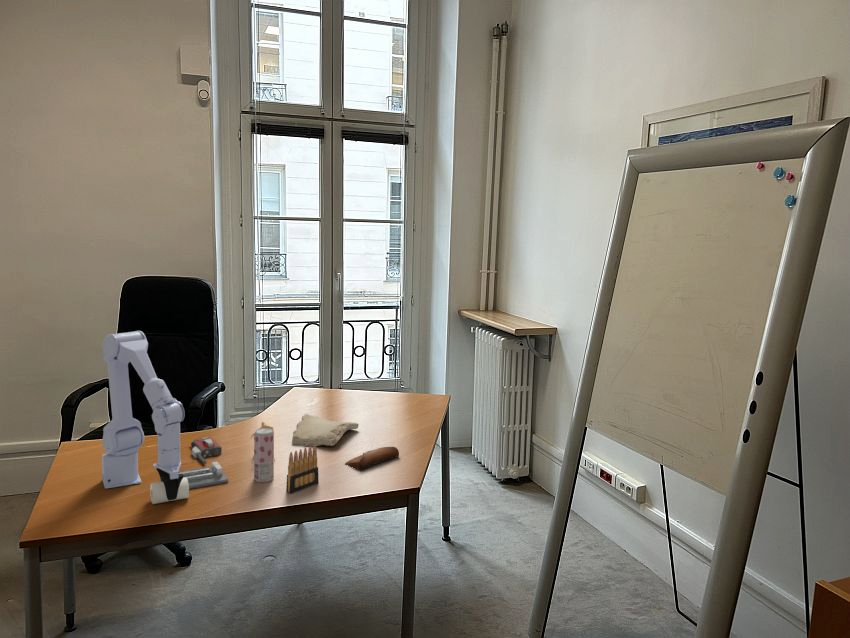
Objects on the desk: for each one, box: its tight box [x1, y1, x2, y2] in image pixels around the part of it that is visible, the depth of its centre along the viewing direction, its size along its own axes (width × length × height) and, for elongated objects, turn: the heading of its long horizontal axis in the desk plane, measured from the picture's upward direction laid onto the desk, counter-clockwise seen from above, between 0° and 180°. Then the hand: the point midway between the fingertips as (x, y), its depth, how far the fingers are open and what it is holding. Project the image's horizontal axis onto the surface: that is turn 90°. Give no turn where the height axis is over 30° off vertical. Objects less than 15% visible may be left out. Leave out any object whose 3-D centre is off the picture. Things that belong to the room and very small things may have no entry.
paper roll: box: [149, 478, 190, 505], centre depth 172 cm, size 9×6×6 cm, turn 122°
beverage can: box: [253, 427, 275, 483], centre depth 188 cm, size 6×6×15 cm
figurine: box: [250, 421, 275, 439], centre depth 206 cm, size 8×6×12 cm
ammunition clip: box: [285, 445, 320, 494], centre depth 183 cm, size 11×2×12 cm, turn 141°
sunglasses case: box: [344, 446, 400, 472], centre depth 206 cm, size 18×7×7 cm
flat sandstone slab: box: [291, 413, 360, 447], centre depth 229 cm, size 24×8×20 cm
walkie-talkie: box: [190, 436, 222, 464], centre depth 207 cm, size 9×4×20 cm
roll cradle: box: [178, 461, 229, 490], centre depth 186 cm, size 16×12×4 cm
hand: (169, 495), depth 172 cm, fingers closed on paper roll, 5 cm apart
